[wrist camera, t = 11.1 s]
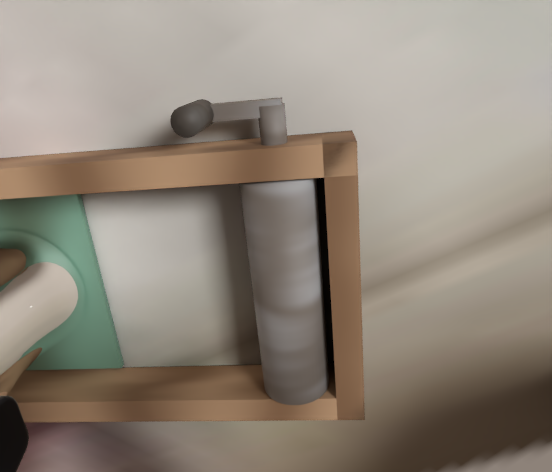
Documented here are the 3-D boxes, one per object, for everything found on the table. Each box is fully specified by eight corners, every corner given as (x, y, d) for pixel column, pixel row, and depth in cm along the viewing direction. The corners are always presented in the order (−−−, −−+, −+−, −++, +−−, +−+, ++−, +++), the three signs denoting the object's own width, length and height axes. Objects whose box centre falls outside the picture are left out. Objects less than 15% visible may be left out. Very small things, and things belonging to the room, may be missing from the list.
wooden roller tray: (350, 83, 18) (358, 90, 14) (359, 382, 23) (367, 442, 19) (-114, 125, 20) (-206, 140, 17) (-11, 388, 25) (-64, 443, 22)
